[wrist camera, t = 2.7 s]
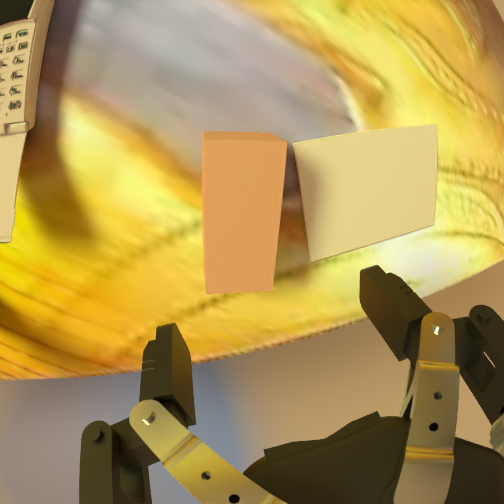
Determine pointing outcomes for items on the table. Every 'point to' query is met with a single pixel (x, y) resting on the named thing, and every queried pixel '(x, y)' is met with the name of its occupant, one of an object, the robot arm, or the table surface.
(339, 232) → the beige flat plate
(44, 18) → the mobile phone
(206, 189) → the card box
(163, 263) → the table surface
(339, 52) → the table surface
